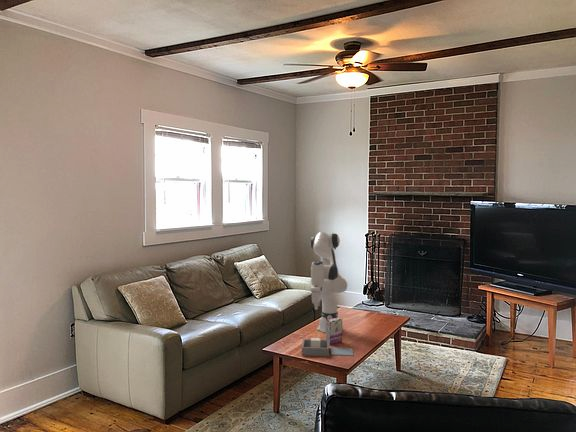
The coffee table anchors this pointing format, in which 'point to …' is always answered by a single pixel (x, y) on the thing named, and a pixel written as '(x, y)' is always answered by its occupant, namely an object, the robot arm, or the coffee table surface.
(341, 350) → the coaster board
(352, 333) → the coffee table surface
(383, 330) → the coffee table surface
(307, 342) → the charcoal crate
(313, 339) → the cream block
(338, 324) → the candy bar box
